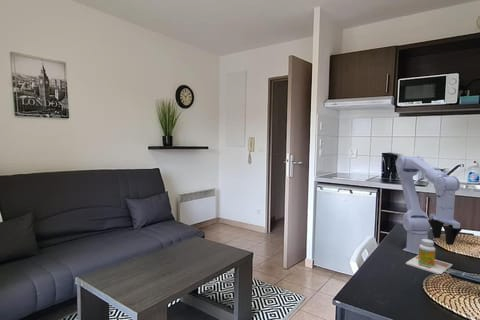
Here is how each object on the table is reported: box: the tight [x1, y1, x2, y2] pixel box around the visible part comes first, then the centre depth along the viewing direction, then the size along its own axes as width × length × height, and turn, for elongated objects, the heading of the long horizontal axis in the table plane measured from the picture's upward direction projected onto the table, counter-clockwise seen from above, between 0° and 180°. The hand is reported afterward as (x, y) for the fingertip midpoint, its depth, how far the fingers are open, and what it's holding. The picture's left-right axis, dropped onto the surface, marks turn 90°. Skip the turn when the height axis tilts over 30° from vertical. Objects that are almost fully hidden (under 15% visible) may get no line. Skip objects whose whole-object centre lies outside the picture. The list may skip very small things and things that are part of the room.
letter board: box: [405, 254, 453, 275], centre depth 113 cm, size 14×12×1 cm
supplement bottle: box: [418, 238, 436, 267], centre depth 112 cm, size 5×5×10 cm
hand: (442, 241), depth 111 cm, fingers open, 7 cm apart
